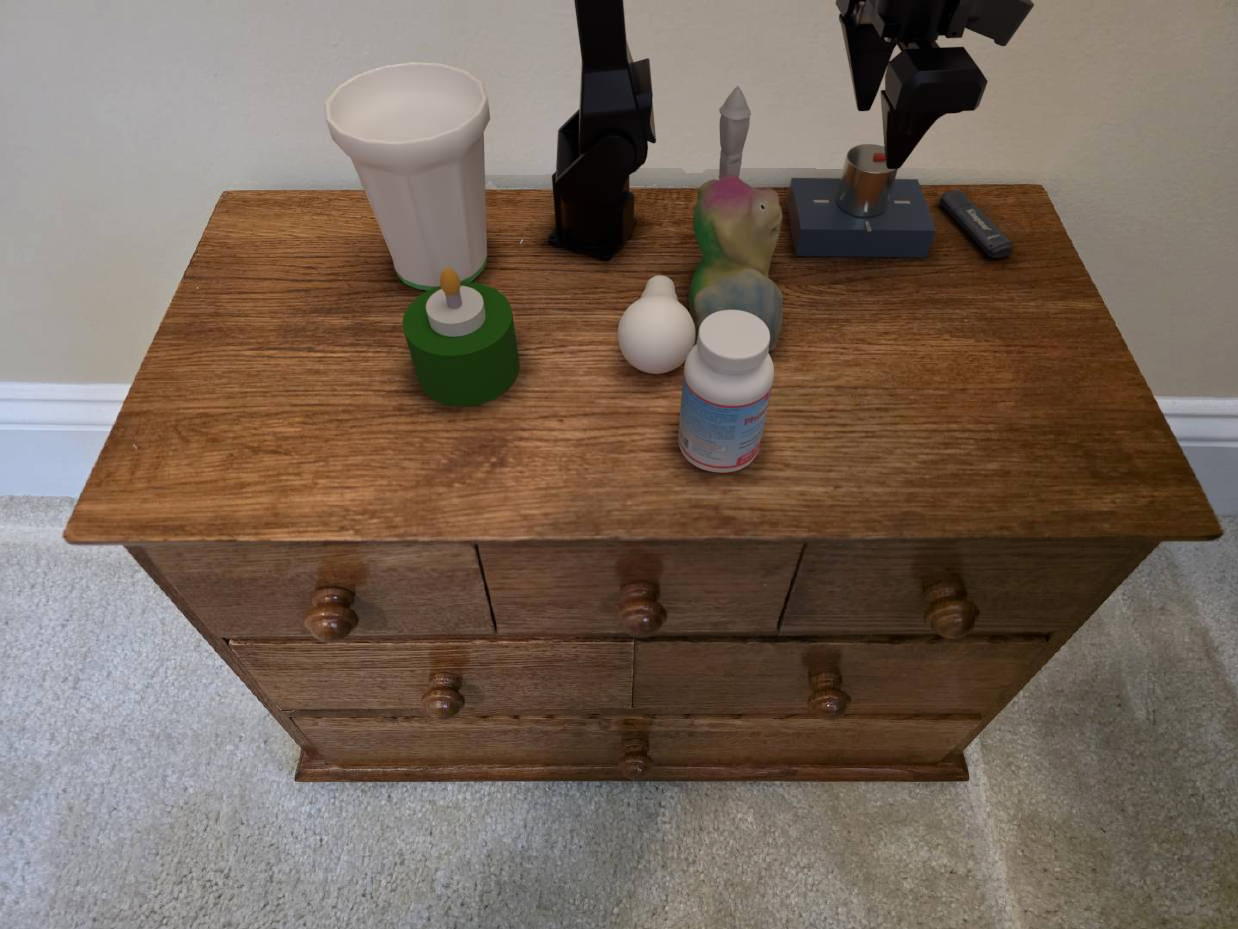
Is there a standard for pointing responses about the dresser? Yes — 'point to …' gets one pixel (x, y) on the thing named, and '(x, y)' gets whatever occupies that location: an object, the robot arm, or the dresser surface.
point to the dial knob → (865, 181)
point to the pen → (733, 132)
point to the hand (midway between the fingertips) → (877, 137)
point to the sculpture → (736, 253)
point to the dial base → (858, 222)
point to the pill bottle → (726, 392)
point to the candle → (462, 342)
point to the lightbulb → (656, 329)
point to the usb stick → (976, 224)
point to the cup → (419, 163)
